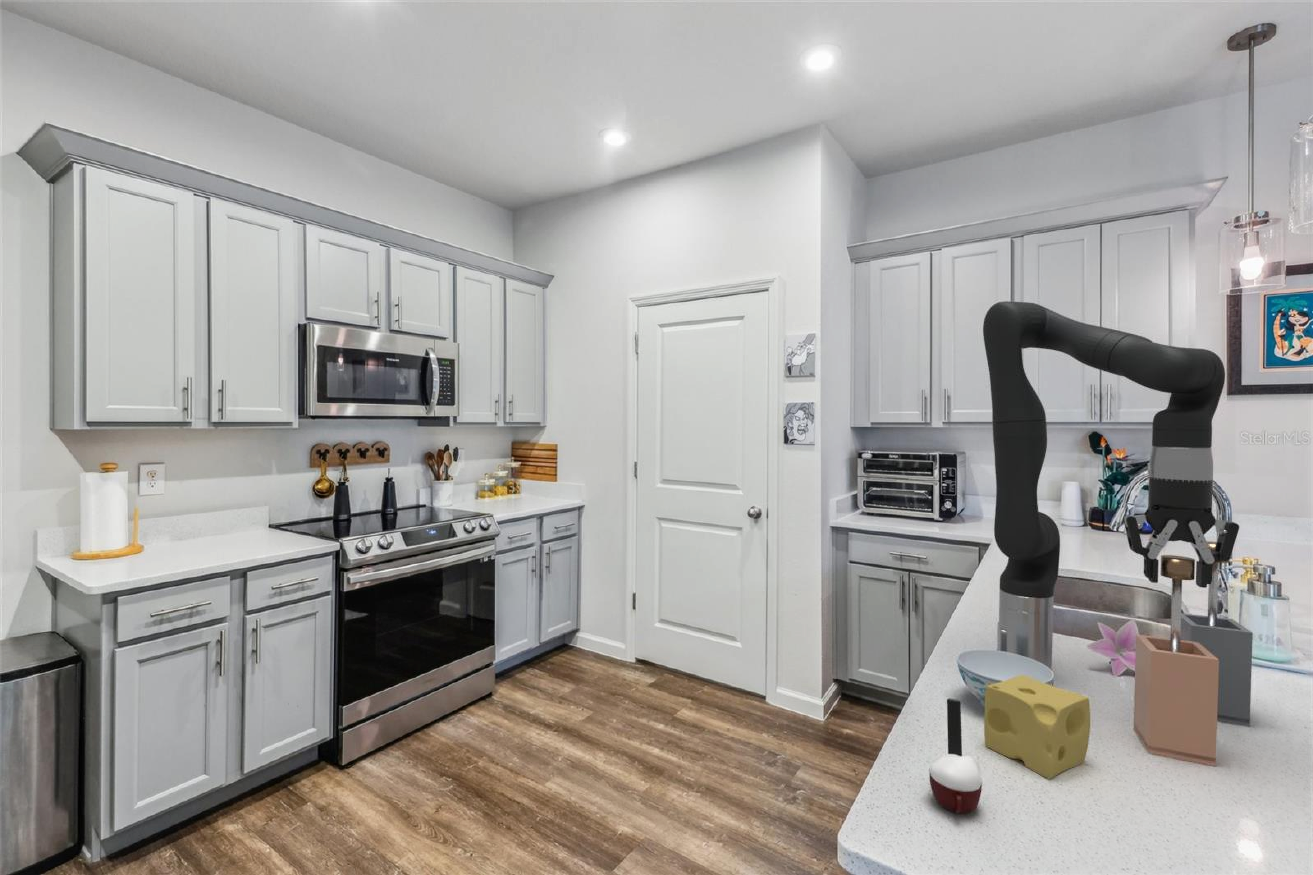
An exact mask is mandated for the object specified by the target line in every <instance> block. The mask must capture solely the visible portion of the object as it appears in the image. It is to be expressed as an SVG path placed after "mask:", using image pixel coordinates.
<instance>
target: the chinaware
mask: <svg viewBox="0 0 1313 875" xmlns="http://www.w3.org/2000/svg"><path fill="white" fill-rule="evenodd" d="M956 663H957V668H958V671H959V673H960V676H961V679H962V681H963V683H964V685H965V686H966V688H967V689H968V690H969V691H970V692H971V693H972V694H973V695H974V696H975V697H976V698H977V699H978V700H979V701H981V702H980V703H981V706H982V705H983V706H982V707H983V708H984V709H985V692H986V686H988V685H991V684H995V683H999V682H1002V681H1005V680H1008V679H1011V678H1013V677H1016V676H1019V675H1025V676H1028V677H1030V678H1033V679H1035V680H1038V681H1040V682H1043V683H1046V684H1049V685H1051V686H1053V683H1054V678H1055V674H1054V672H1053V670H1051V669H1049V668H1048V667H1047V666H1045V665H1044V664H1042V663H1040V662H1038V661H1035V660H1033V659H1030V658H1027V657H1024V656H1021V655H1017V654H1013V653H1008V652H1003V651H997V649H996V650H995V649H981V648H980V649H969V650H965V651H961V652H960V653H958V654H957V656H956Z"/></svg>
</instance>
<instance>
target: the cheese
mask: <svg viewBox="0 0 1313 875" xmlns="http://www.w3.org/2000/svg"><path fill="white" fill-rule="evenodd" d="M1090 707H1091V706H1090V698H1089V696H1086V695H1084V694H1081V693H1080V694H1079V693H1077V692H1074V691H1070V690H1066V689H1063V688H1060V687H1057V686H1054V685H1052V686H1051V685H1049V684H1046V683H1043V682H1040V681H1038V680H1035V679H1033V678H1030V677H1028V676H1025V675H1019V676H1016V677H1013V678H1011V679H1008V680H1005V681H1002V682H999V683H995V684H991V685H988V686H986V692H985V708H984V715H983V716H984V721H983V722H984V723H983V726H984V728H983V729H984V730H983V731H984V745H985V747H986V748H988V749H990V750H992V751H994V752H996V753H999V754H1001V755H1003V756H1005V757H1007V758H1009V759H1012V760H1020V761H1023V763H1024V765H1025V768H1027V769H1030V770H1031V771H1033V772H1035V773H1036V774H1039V775H1040V776H1042V777H1044V778H1045V779H1048V780H1051V779H1053V778H1054V777H1056V776H1057V775H1059V774H1061V773H1062V772H1064V771H1065V772H1066V771H1067V770H1068V769H1069V770H1070V769H1071V768H1074V767H1077V766H1078V765H1081V764H1084V763H1085V761H1086V756H1087V752H1088V748H1089V740H1090V734H1091V731H1090V730H1091V708H1090Z"/></svg>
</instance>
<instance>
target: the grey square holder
mask: <svg viewBox="0 0 1313 875" xmlns="http://www.w3.org/2000/svg"><path fill="white" fill-rule="evenodd" d="M1207 622H1208V615H1201V614H1200V615H1199V614H1192V613H1184V612H1181V638H1180V640H1184V641H1192V642H1199V643H1200V644H1201V645H1202V646H1203V647H1204V648H1206V649H1207V650H1208V651H1209V652H1210V653H1211V654H1213V655H1214V656H1215V657H1216V658H1217V659H1218V660H1219V674H1218V707H1217V722H1219V723H1226V724H1232V725H1236V726H1242V727H1249V728H1250V726H1251V700H1252V698H1251V696H1252V695H1251V694H1252V670H1253V669H1252V666H1253V665H1252V662H1253V631H1251V630H1249V629H1248V628H1246V627H1245V626H1243V625H1242V624H1241V623H1239V622H1238V621H1236V620H1234V619H1233V618H1227V617H1221V616H1220V617H1219V616H1217V627H1213V626H1207Z"/></svg>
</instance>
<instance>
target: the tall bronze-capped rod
mask: <svg viewBox="0 0 1313 875" xmlns="http://www.w3.org/2000/svg"><path fill="white" fill-rule="evenodd" d="M1206 541H1207V540H1206ZM1207 543H1208V545H1209V549H1210V551H1211V552H1214V549H1215V546H1216V543H1217V541H1210V540H1208V541H1207ZM1230 559H1231V558H1230ZM1230 559H1229V560H1228V561H1218V562H1215V563H1214V564H1213V566H1212V582H1211V584H1208V593H1207V594H1208V595H1207V598H1208V599H1207V616H1208V622H1207V626H1213V627H1217V617H1218V599H1219V598H1218V595H1219V593H1218V592H1219V590H1218V589H1219V563H1220V564H1229V563H1230V561H1231V560H1230Z"/></svg>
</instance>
